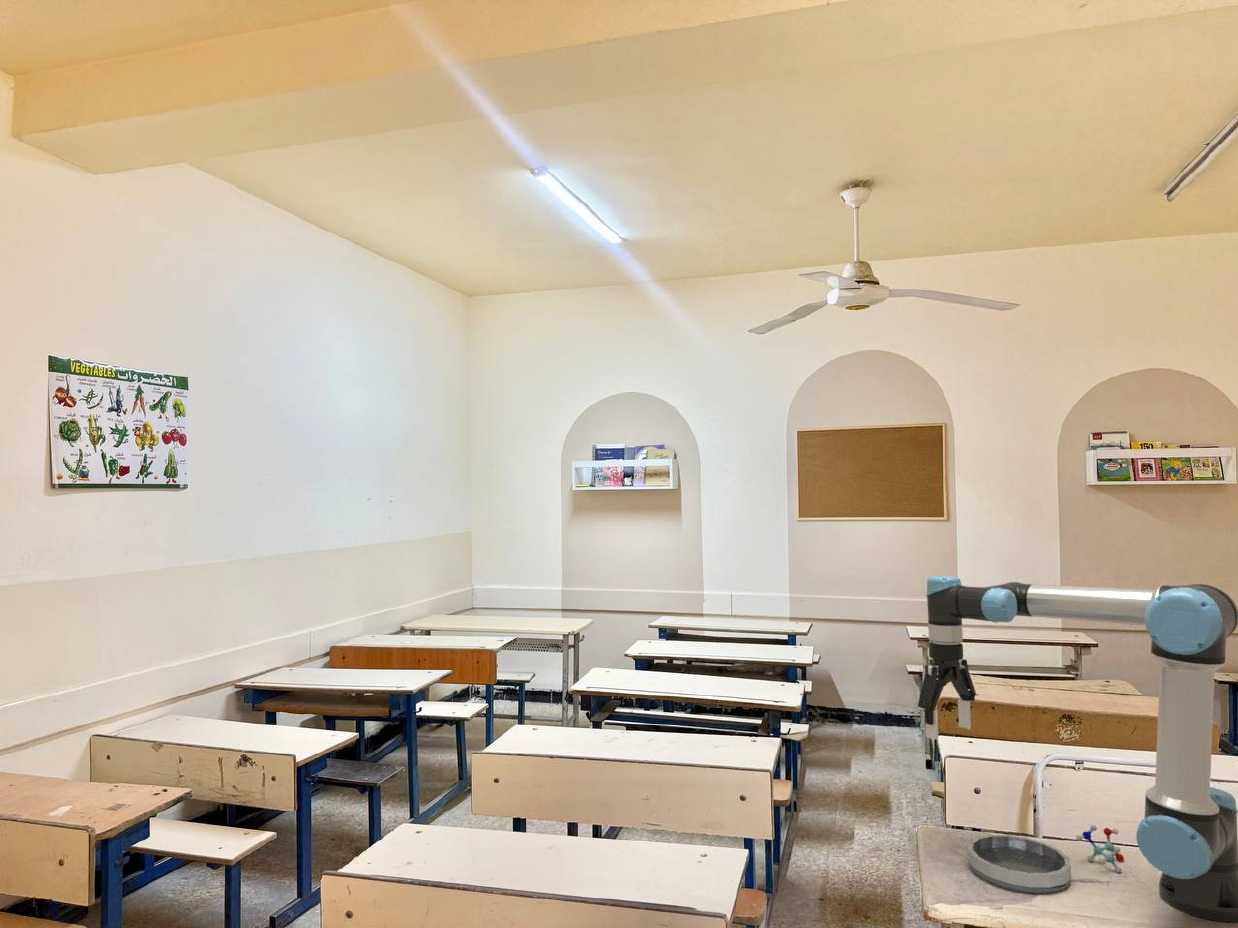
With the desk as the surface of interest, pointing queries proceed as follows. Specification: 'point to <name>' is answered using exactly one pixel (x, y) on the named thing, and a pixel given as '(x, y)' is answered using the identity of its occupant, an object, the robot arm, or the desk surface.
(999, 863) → the shallow grey dish
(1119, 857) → the molecular model
